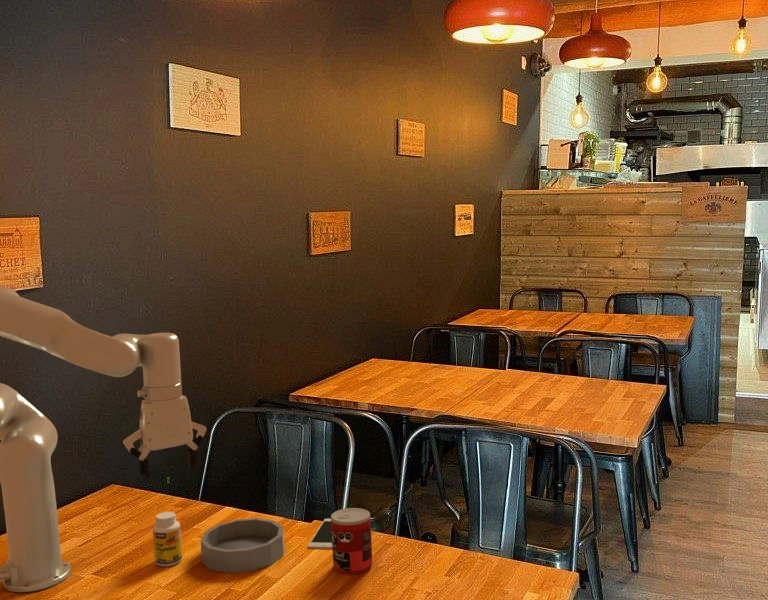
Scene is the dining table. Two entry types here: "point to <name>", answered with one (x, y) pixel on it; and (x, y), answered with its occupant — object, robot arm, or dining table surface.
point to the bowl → (242, 545)
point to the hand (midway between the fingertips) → (168, 472)
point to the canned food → (351, 541)
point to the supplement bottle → (167, 540)
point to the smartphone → (322, 536)
